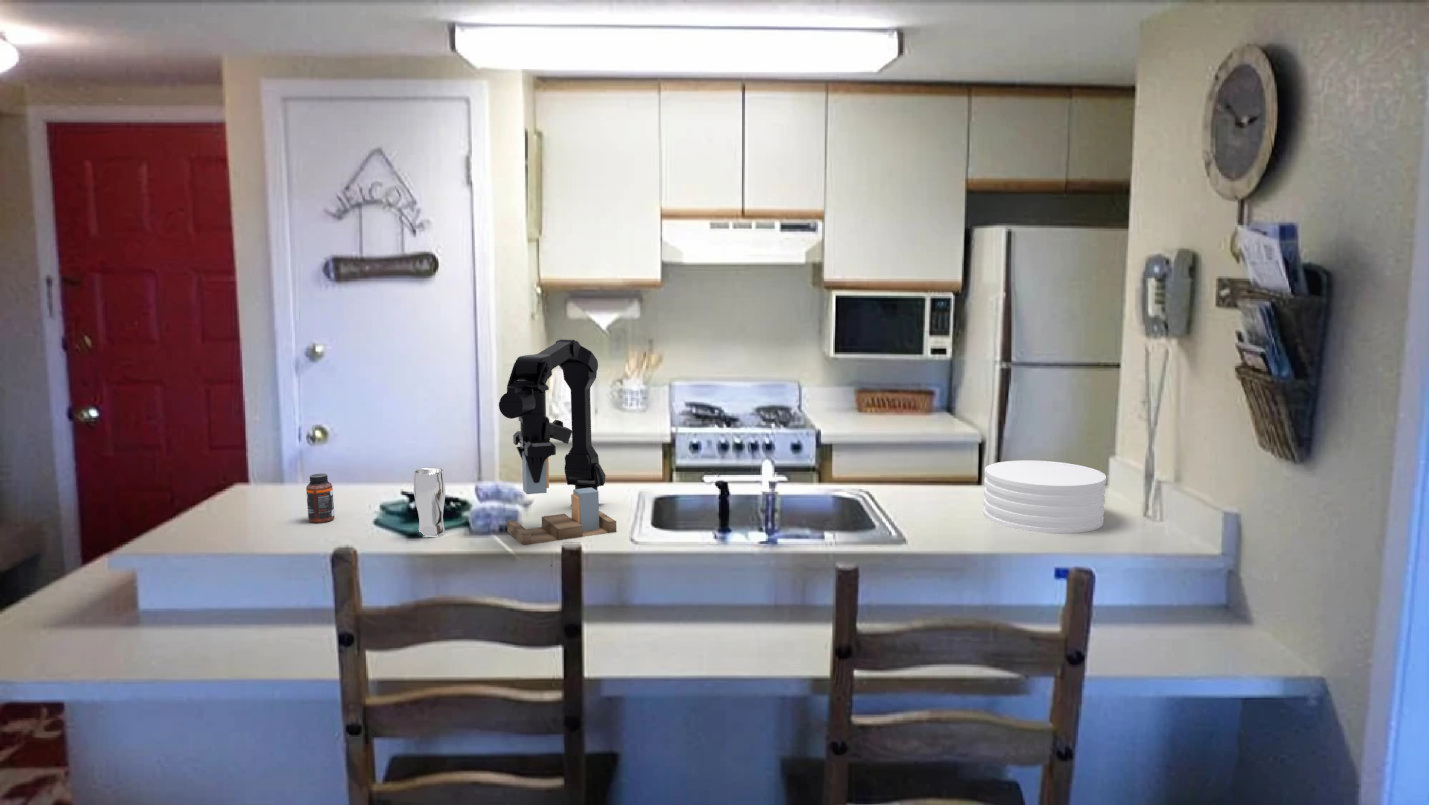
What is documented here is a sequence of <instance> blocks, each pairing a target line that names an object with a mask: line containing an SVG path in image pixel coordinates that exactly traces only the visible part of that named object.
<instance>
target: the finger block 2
mask: <svg viewBox="0 0 1429 805" xmlns="http://www.w3.org/2000/svg"><path fill="white" fill-rule="evenodd" d="M599 496H600V495H599V490H598V491H597V490H595V489H593V488H582V489H575V488H574V489H572V494H570V499H571V504H570V508H571V518H572V519H573V520H575V521H576V522H578V523H579V524H580V525H582V526H583V532H584V531H591V530H598V529H599V511H600V510H599V509H600V506H599V505H600V504H599Z"/></svg>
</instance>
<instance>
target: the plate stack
mask: <svg viewBox="0 0 1429 805" xmlns="http://www.w3.org/2000/svg"><path fill="white" fill-rule="evenodd" d="M984 476H985V477H984V482H983V483H984V488H983V495H984V497H983V506H984V507H983V511H982V513H983V517H984V518H985V519H986V520H988V521H990V522H993V523H994V524H997V525H1000V526H1003V527H1006V528H1010V529H1014V530H1020V531H1021V530H1022V531H1026V532H1036V533H1044V534H1045V533H1047V534H1076V533H1086V532H1091V531H1095V530H1098V529H1100V528H1101V527H1102V526H1103V525H1104V522H1105V521H1104V520H1105V518H1104V515H1105V506H1104V505H1105V503H1106V497H1105V495H1106V483H1107V476H1106V474H1105V473H1104V472H1102V471H1100V470H1099V469H1095V468H1092V467H1088V466H1084V465H1081V464H1075V463H1074V464H1073V463H1068V462H1060V461H1049V460H1029V459H1027V460H1026V459H1025V460H1021V459H1020V460H1006V461H1000V462H999V461H998V462H995V463H992V464H988V465H987V466H985V468H984Z"/></svg>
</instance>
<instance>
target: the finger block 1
mask: <svg viewBox="0 0 1429 805" xmlns="http://www.w3.org/2000/svg"><path fill="white" fill-rule="evenodd" d="M523 454H525V451H522V459H521V461H522V491H523V492H524V494H526V495H535V494H536V495H537V494H547V493H548V492H547V489H549V488H550V475H549V474H550V473H549V470H550V469H549V457H548V458H547V459H546V460H545V461H544V465H543V469H542V473H541V477H540V481H539V483H534V481H533V478H532V476H531V473H530V471H529V468H528V466H527V463H526V461H525V458H524V455H523Z"/></svg>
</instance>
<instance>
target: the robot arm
mask: <svg viewBox="0 0 1429 805" xmlns="http://www.w3.org/2000/svg"><path fill="white" fill-rule="evenodd" d="M558 366H559V368H560V369H561V370H562V375H563V380H564V381H565V383H566V384H567V386H568V388H569V389H570V390H569V391H570V411H571V412H570V415H571V416H570V417H571V428H568V427H567V426H564V422H563V421H562V420H560V419H559V420H558V419H555V420H553V421H552V422H551V421H550V418H548V416H547V403H546V402H547V394H546V392H547V391H549V389H550V387H549V386H548V385H547V382H548V380H549V379H550V378H551V377H552V376H553V372H552V370H554V369H555V368H557V367H558ZM598 368H599V362H598V359H597V357H596V356H595V354H594V353H593V352H592V351H591V350H589V349H588V348H586V347H584V346H583V345H581V344H580V342H579V341H578V340H575V339H564V338H563V339H561V338H560V339H559V340H556V341H555V343H554V344H551V345H550V346H548V347H547V348H545V349H543V350H542V351H540V352H538V353H535V354H527V355H526V354H524V355H520V356H518V357H517V359H516V360H515V362H514V364H513V366H512V369H511V371H510V375H509V378H508V381H507V386H506V392H505V393H504V394H503V395H502V396H500V399H499V402H498V409H499V411H500V414H502V416H504V417H505V418H506V419H511V420H512V419H518V422H520V430H517V431H515V433H514V434H513V435H512V437H513V438H512V441H513V444H514V446H517V445H519V446H517V447H516V450H517V452H518V454H519V456H520V459H521V460H522V451H525V454H523V455H524V458H525V461H526V463H527V466H528V468H529V471H530V473H531V476H532V478H533V481H534V483H539V481H540V477H541V473H542V469H543V465H544V461H545V460H546V459H547V458H548V459H549V457H551V456H555V455H556V454H557V450H556V448H557V447H556V445H555V444H554V443H552V442H551V439H552V440H553V439H554V440H556V441H559V442H562V443H563V444H567V445H568V444H569V442H570V439H571V447H570V449H569V451H568V453H567V454H565V456H564V463H565V464H564V475H565V480H566V484H567V486H574V489H582V488H593V489H595V490H597V491H598V492H599V490H598V487H602V486H605V483H606V476H607V475H606V473H605V471H604V469H603V468H602V465H601V464H600V459H599V454H598V453H597V451H596V449H595V448H594V447H593V443H592V414H591V413H592V412H591V410H592V407H591V404H592V403H591V388H592V386H593V384H594V382H595V381H596V379H597V371H598Z"/></svg>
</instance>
